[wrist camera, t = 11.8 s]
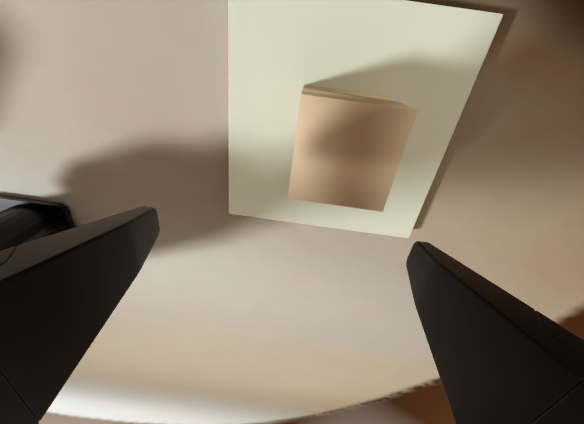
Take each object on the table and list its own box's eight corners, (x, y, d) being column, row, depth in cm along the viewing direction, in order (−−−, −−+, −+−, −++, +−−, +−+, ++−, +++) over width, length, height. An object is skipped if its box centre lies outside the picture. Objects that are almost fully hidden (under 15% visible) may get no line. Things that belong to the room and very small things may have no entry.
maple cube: (293, 165, 18) (287, 198, 14) (303, 84, 15) (300, 94, 11) (365, 175, 18) (382, 211, 14) (387, 97, 15) (417, 110, 11)
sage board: (232, 207, 21) (228, 213, 20) (233, -20, 14) (228, -25, 13) (404, 230, 21) (408, 238, 20) (491, 16, 14) (503, 14, 13)
